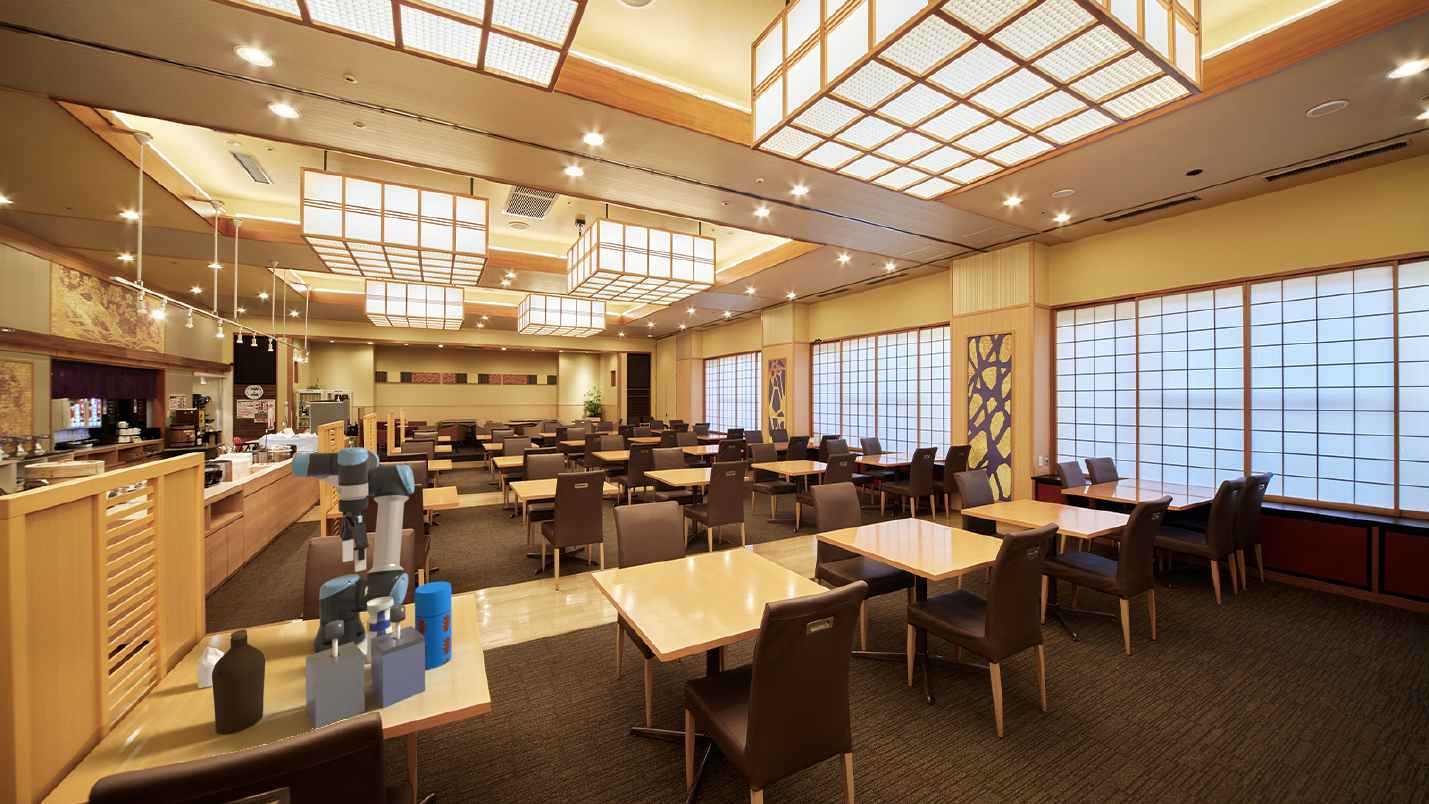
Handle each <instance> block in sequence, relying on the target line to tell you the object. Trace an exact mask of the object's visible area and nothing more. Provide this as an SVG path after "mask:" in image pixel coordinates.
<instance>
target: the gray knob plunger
mask: <svg viewBox="0 0 1429 804" xmlns="http://www.w3.org/2000/svg"><path fill="white" fill-rule="evenodd" d="M406 618H407V617H406V605H404V604H400V605H398V606H394V607H392V608H390V622H391V624H394V623H395V624H394V625H395V627H394V628H395V635H396V640H397V639H400V629H401V622H402V621H404V620H406Z"/></svg>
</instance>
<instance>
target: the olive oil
mask: <svg viewBox="0 0 1429 804" xmlns="http://www.w3.org/2000/svg"><path fill="white" fill-rule="evenodd" d="M247 633H248V630H246V629H239V630H236V631H234V632H232V633H231V634H230V637H231V638H230V647H229V649H228V650H227V651H226V652H225V653H224V655H223V656H222V657H221V658H220V659H219V660H218V662H217V663H216V664H215V666H214V669H213V672H212V685H213V687H212V692H213V693H212V694H213V706H214V722H215V723H214V724H215V725H214V726H215V732H216V733H217V734H218V735H230V734H234V733H235V734H236V733H238V732H241V731H243V730H244V731H245V730H247V729H249V728H251V727H252V726H254V725H256V724H257V723H259V722H260V721H261V719H262V718H263V717H264V699H265V697H264V696H265V695H264V694H265V693H264V692H265V678H266V677H265V675H266V657H265V655H264V653H263V652H262V650H260V649H258V648H256V647H254V646H253V645H251V644H249V643H248V634H247Z"/></svg>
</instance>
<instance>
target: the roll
mask: <svg viewBox="0 0 1429 804" xmlns="http://www.w3.org/2000/svg"><path fill="white" fill-rule="evenodd" d="M224 654H225V653H224V651H221V650H219V649H218V648H214V647H210V646H207V647H205V648H204V649H203V653H202V655H201V656H200V657H199V658H198V660H197V673H196V674H197V687H198V686H201V687H208V686H213V685H212V672H213V669H214V666H215V664H216V663H217V662H218V660H219V659H220V658H221V657H222V656H223V655H224Z"/></svg>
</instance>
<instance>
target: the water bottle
mask: <svg viewBox="0 0 1429 804" xmlns="http://www.w3.org/2000/svg"><path fill="white" fill-rule="evenodd" d="M367 589H368V587H367V586H366V589H365V595H366V594H367ZM393 604H394V601H393V598H392V597H381V598H376V599H373V600H370V601H368V602H367V605H368V606H367V611H366V612H367V613H368V615H369V616H368V619H367V621H366V631H367V639H366V640H367V644H366V645H367V647H366V662H368V663H370V664H371V639H372V638H375V637H378V636H381V635H384V634H388V633H391V632H393V628H392V625H391V624H392V623H391V622H390V607H391V606H392V605H393Z"/></svg>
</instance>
